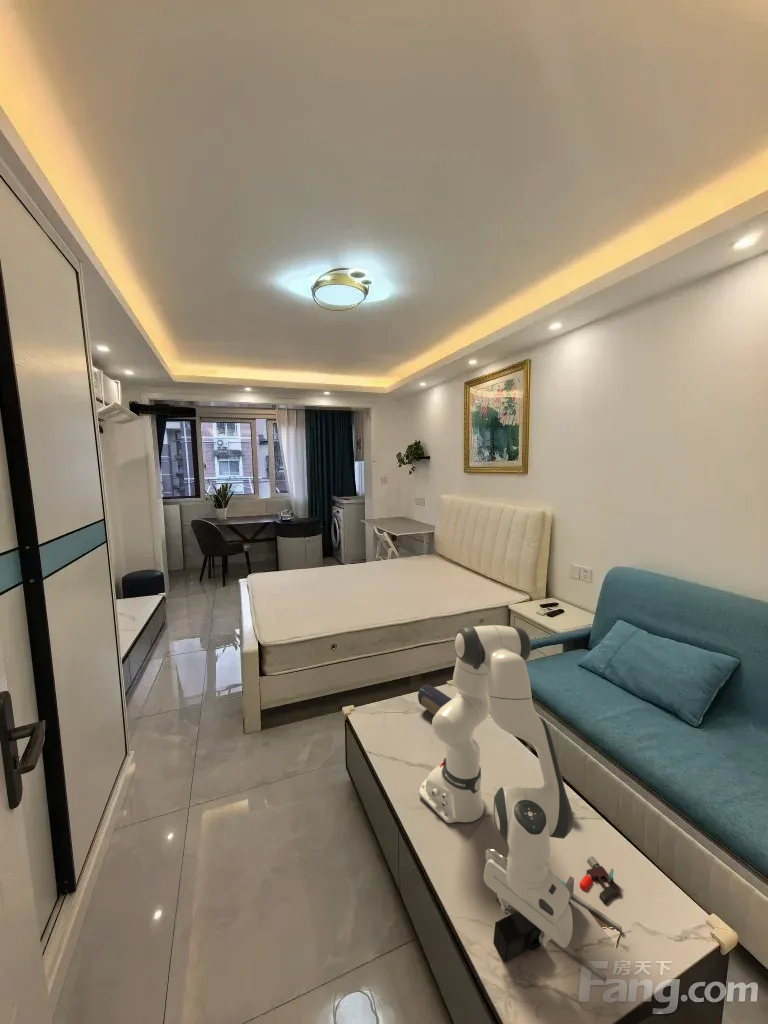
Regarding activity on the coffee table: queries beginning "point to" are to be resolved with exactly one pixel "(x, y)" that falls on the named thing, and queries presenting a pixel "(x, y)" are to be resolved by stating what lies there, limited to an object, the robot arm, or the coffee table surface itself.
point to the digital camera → (515, 936)
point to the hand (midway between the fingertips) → (523, 925)
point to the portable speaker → (432, 698)
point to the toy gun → (600, 881)
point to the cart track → (600, 919)
